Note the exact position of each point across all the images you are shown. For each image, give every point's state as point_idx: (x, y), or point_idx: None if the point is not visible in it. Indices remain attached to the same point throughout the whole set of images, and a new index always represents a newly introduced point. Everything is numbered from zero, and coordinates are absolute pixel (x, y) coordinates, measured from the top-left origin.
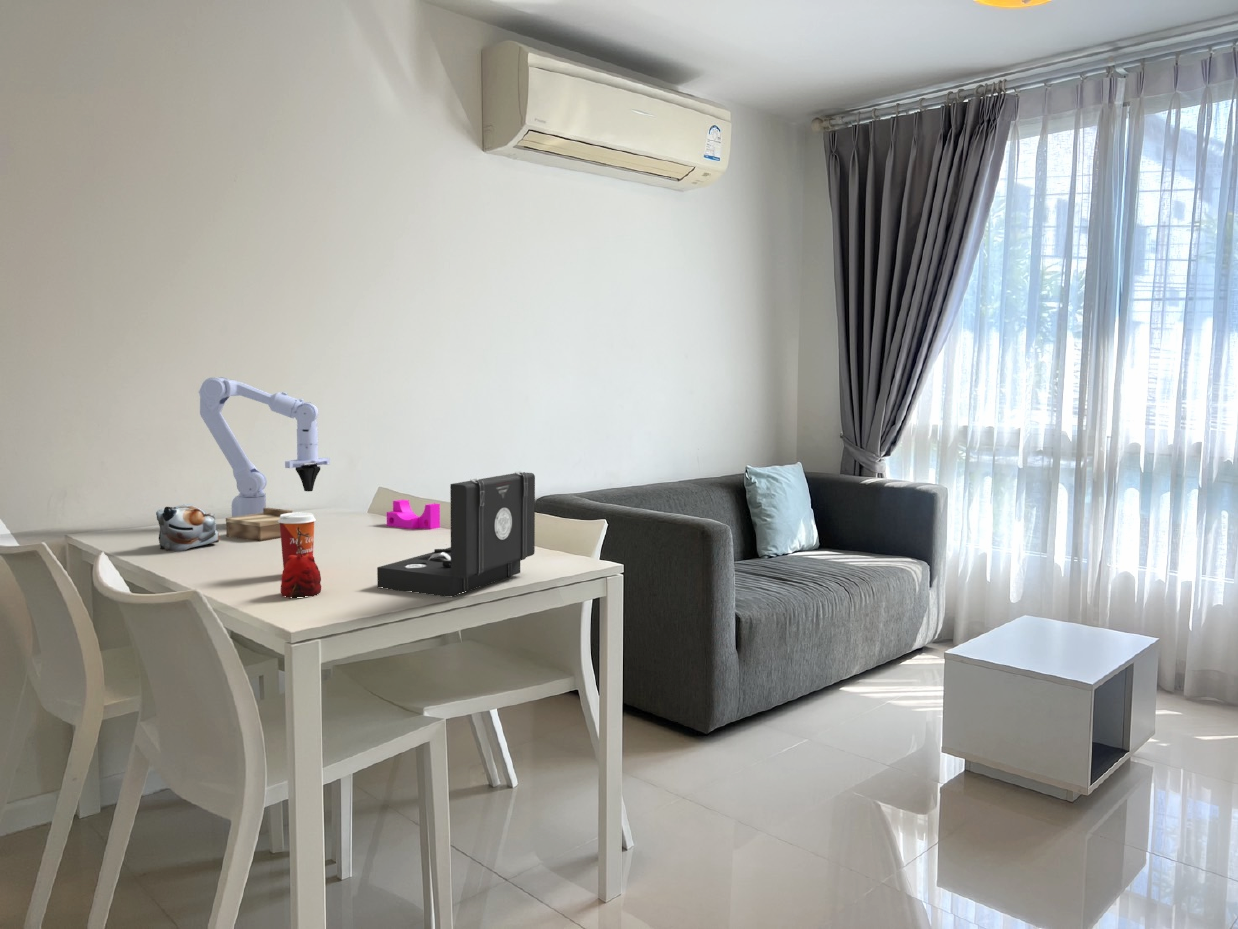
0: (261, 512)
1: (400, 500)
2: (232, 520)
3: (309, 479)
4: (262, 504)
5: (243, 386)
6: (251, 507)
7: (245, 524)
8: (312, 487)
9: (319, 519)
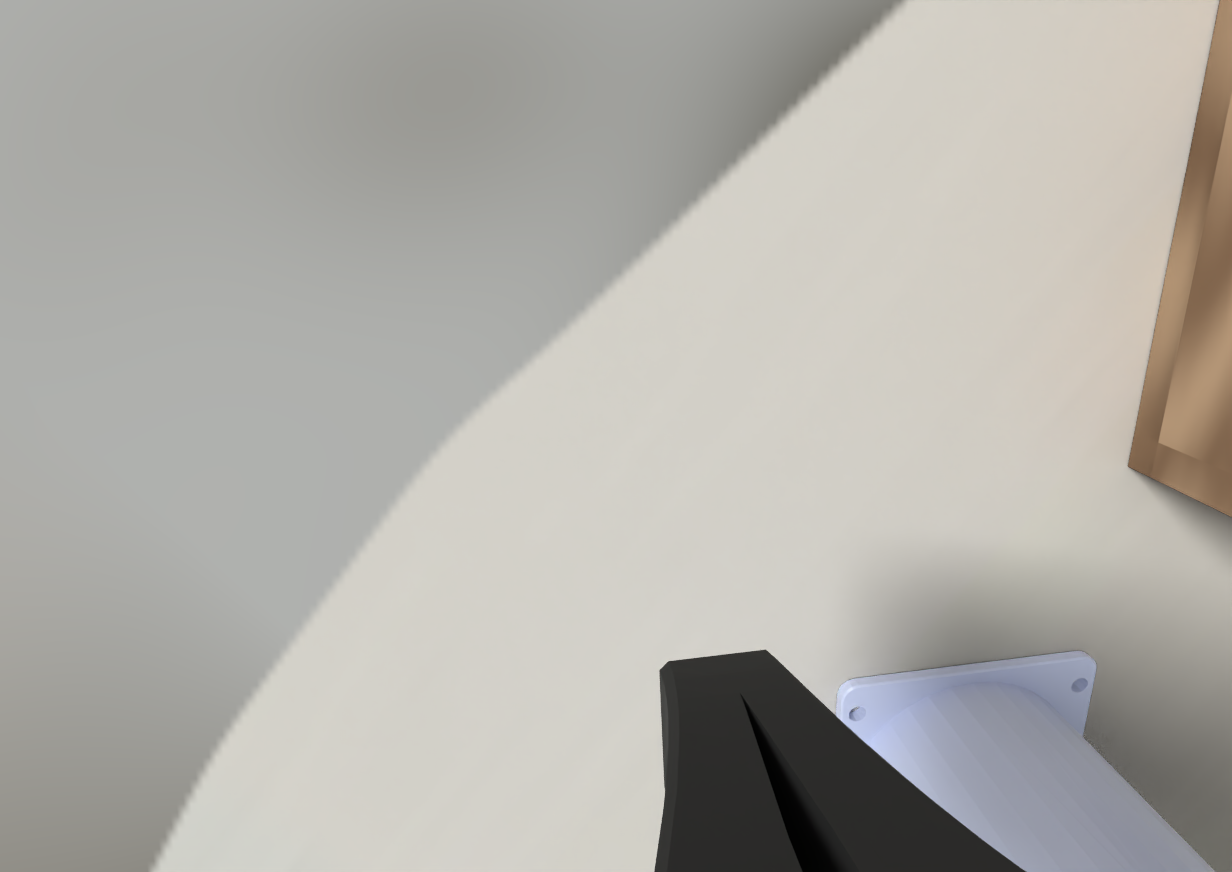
0: (1048, 780)
1: None
2: None
3: (968, 869)
4: (1096, 865)
5: None
6: (1193, 852)
7: None
8: (704, 701)
9: (317, 660)
